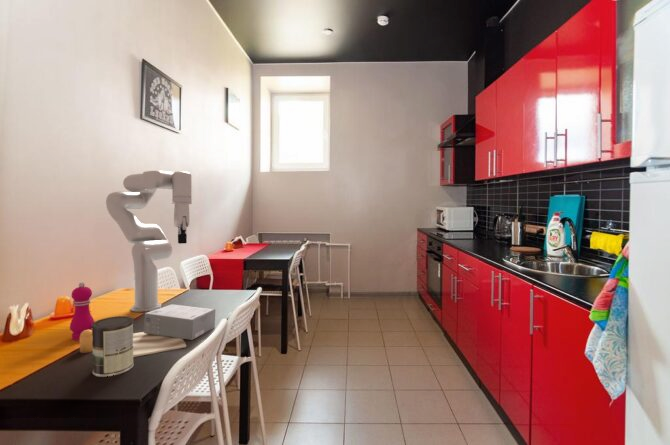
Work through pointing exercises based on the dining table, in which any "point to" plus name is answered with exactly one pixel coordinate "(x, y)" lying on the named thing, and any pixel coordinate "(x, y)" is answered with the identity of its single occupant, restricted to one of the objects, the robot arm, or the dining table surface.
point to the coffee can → (112, 345)
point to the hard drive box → (179, 321)
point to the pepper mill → (81, 311)
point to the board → (154, 343)
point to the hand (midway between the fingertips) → (182, 243)
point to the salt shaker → (86, 341)
